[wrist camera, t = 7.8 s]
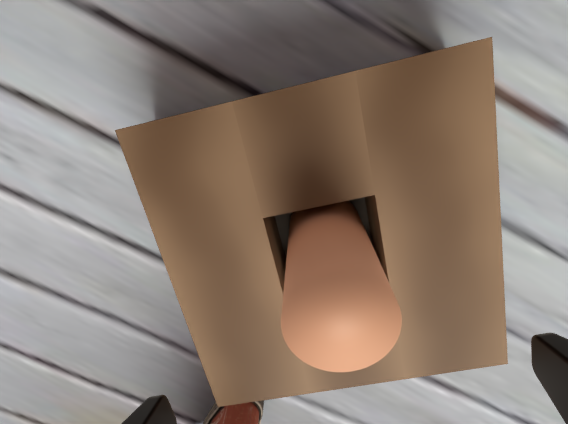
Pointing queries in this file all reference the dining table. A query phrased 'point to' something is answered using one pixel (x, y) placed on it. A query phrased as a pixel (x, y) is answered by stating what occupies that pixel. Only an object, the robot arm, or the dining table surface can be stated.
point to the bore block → (327, 190)
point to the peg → (336, 292)
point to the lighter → (236, 413)
